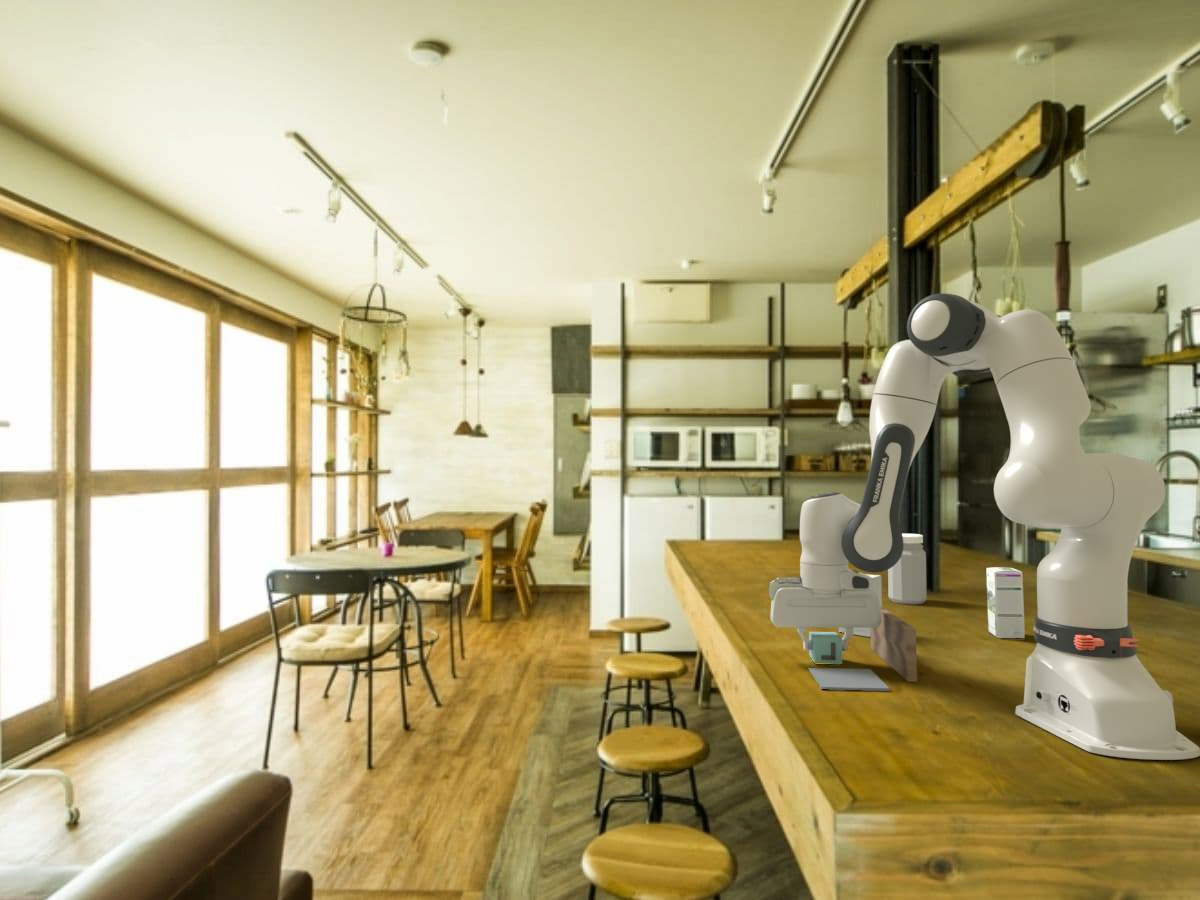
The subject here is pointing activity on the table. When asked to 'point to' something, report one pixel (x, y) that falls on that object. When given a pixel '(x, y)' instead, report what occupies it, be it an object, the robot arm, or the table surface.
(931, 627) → the table surface
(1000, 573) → the syrup box
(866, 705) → the table surface
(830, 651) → the letter block
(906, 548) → the jar
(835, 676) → the slate pad
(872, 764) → the table surface
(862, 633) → the supplement box
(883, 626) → the walnut screen
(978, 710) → the table surface
